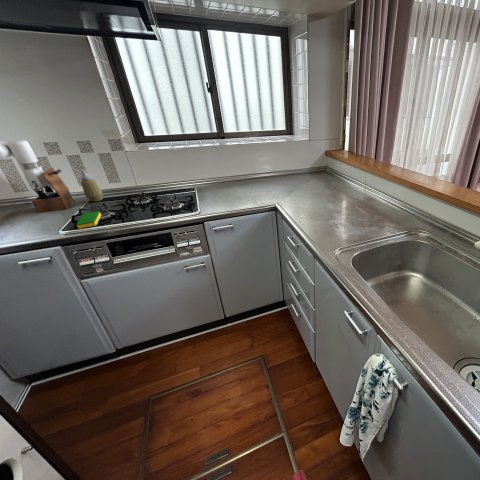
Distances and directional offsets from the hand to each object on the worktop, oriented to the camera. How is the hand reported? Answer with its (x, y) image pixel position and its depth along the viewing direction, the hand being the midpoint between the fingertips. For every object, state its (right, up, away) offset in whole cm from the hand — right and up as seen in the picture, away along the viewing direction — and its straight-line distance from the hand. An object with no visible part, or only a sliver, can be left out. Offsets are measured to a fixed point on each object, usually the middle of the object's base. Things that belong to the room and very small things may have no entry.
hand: (48, 197), depth 147 cm
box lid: (+6, +8, -2) cm, 10 cm away
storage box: (+1, -5, +3) cm, 6 cm away
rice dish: (0, -1, 0) cm, 1 cm away
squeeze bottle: (+17, 0, +12) cm, 21 cm away
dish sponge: (+35, -14, -14) cm, 41 cm away
